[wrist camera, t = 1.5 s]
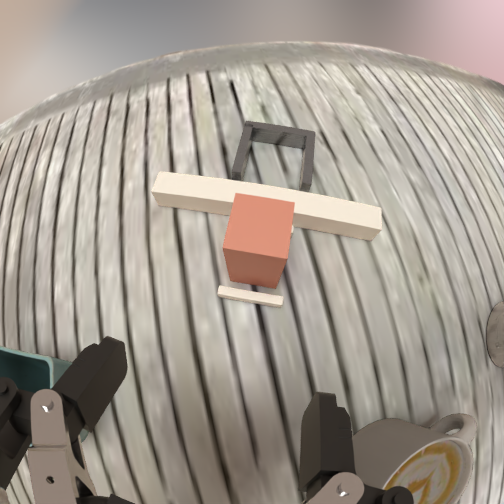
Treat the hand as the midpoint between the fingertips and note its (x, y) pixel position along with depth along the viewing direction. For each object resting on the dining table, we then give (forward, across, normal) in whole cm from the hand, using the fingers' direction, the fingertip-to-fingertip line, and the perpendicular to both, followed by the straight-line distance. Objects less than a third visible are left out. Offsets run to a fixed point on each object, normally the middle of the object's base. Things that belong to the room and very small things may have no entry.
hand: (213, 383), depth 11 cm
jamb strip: (+20, 0, +2) cm, 20 cm away
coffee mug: (+7, -19, +16) cm, 26 cm away
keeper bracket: (+27, 0, -6) cm, 28 cm away
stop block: (+19, 0, +3) cm, 19 cm away
